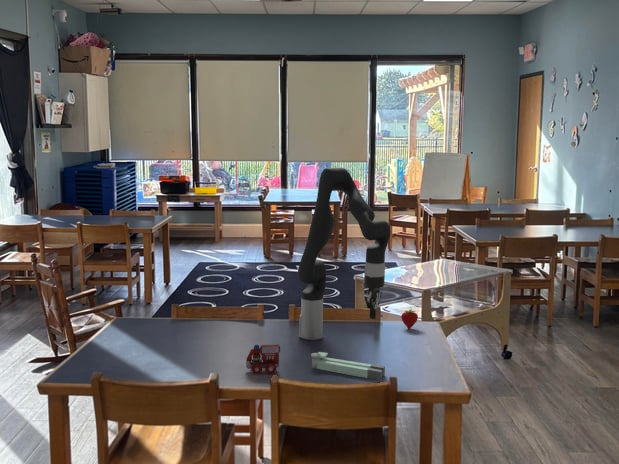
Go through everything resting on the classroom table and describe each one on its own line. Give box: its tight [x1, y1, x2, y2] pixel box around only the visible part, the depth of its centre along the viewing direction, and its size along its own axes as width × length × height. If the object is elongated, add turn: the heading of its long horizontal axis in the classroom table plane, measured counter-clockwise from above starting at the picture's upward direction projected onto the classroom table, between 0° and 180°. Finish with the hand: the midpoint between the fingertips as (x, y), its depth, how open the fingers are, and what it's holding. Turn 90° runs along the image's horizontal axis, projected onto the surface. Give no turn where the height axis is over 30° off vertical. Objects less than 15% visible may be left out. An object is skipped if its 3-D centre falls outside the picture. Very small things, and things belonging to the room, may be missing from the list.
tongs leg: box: [311, 357, 383, 381], centre depth 260 cm, size 27×3×4 cm, turn 66°
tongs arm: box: [310, 351, 386, 377], centre depth 261 cm, size 28×5×5 cm, turn 68°
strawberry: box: [401, 306, 419, 330], centre depth 314 cm, size 6×8×10 cm
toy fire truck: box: [245, 344, 281, 375], centre depth 260 cm, size 7×12×10 cm, turn 94°
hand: (372, 318), depth 266 cm, fingers closed
